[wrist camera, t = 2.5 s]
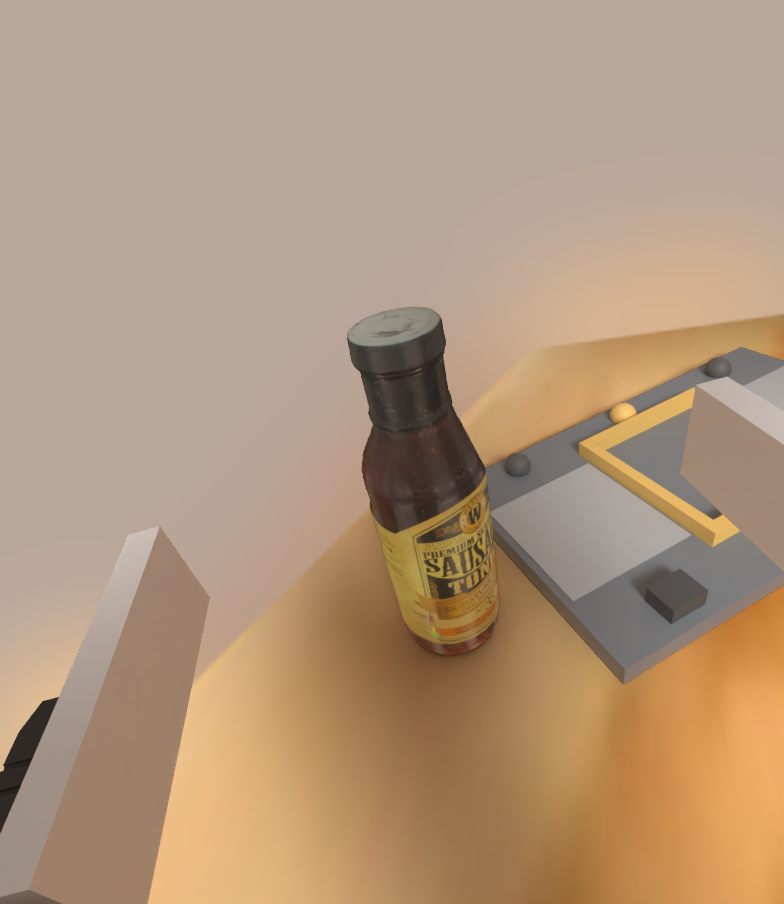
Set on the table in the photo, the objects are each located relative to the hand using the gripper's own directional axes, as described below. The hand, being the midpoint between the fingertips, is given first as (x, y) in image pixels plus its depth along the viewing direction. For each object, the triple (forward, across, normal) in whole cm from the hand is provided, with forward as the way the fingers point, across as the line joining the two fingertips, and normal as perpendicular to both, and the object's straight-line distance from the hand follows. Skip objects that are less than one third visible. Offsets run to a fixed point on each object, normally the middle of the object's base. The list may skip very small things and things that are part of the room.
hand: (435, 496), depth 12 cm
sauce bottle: (+10, 0, -19) cm, 22 cm away
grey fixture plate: (+16, +21, -19) cm, 32 cm away
